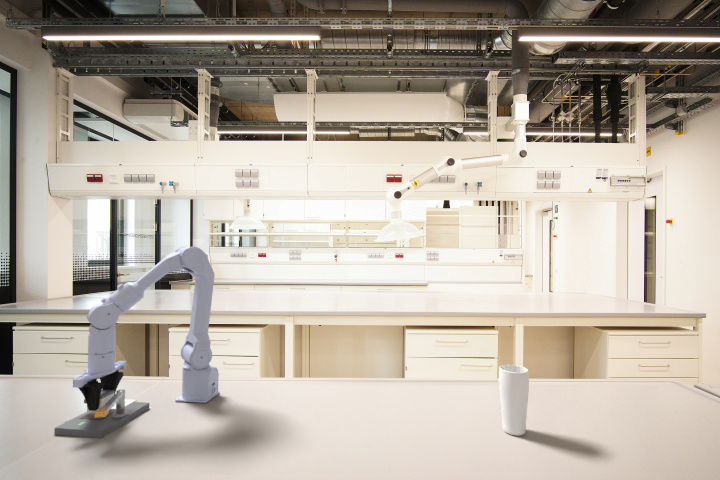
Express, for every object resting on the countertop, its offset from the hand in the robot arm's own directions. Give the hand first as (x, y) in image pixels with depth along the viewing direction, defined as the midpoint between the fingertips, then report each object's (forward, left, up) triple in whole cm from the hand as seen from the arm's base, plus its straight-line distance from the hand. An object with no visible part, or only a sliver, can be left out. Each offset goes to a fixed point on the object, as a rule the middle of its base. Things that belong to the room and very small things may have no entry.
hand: (100, 406), depth 94 cm
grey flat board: (-1, 0, -4) cm, 4 cm away
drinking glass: (-102, -8, -4) cm, 103 cm away
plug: (0, 0, -1) cm, 1 cm away
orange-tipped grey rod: (-8, +5, -1) cm, 9 cm away
